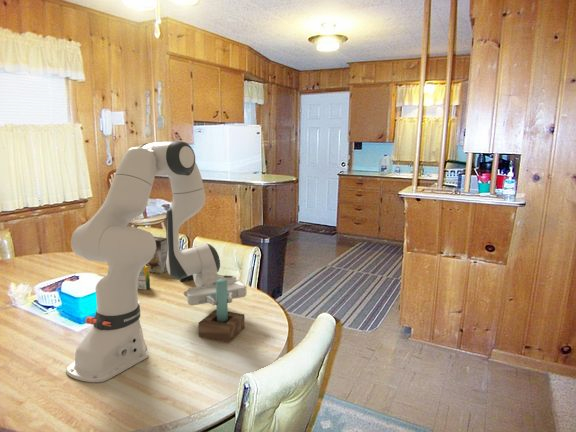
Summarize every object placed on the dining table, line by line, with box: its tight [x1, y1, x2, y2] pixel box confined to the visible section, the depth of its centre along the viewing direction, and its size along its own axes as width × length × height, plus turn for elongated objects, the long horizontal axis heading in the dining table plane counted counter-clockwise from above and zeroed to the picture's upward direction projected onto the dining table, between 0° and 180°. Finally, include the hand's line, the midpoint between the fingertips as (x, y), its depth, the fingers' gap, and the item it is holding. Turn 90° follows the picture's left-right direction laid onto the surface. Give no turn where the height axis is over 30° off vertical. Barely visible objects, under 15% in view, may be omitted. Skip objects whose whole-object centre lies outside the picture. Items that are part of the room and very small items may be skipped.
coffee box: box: [145, 236, 168, 274], centre depth 191 cm, size 9×6×16 cm
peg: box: [215, 279, 229, 323], centre depth 131 cm, size 4×4×16 cm
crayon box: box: [137, 265, 151, 291], centre depth 170 cm, size 7×3×12 cm, turn 74°
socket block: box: [198, 308, 246, 344], centre depth 132 cm, size 11×11×5 cm
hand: (222, 301), depth 130 cm, fingers closed on peg, 4 cm apart
